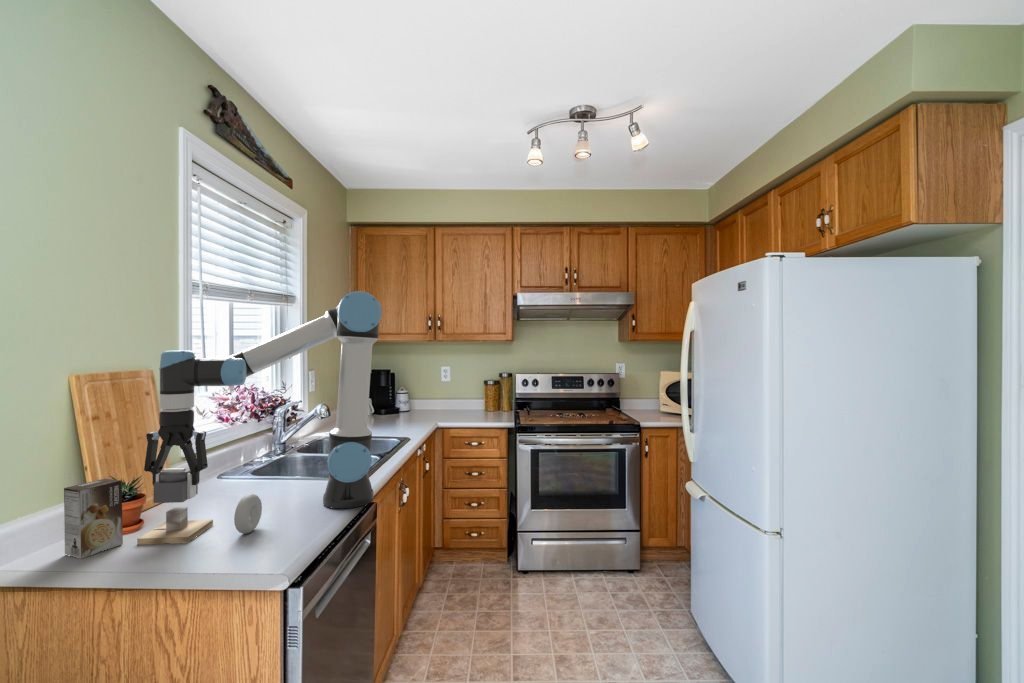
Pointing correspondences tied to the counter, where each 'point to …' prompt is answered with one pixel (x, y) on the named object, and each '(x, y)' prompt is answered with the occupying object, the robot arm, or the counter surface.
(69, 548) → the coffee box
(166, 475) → the knob
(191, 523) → the base
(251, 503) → the upright grey disc
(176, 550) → the counter surface
